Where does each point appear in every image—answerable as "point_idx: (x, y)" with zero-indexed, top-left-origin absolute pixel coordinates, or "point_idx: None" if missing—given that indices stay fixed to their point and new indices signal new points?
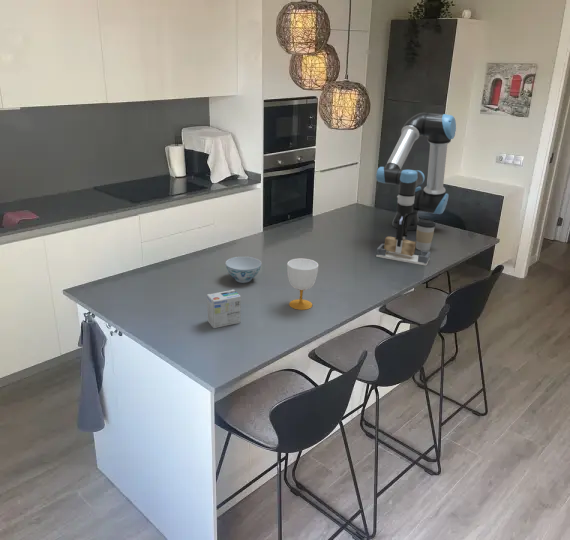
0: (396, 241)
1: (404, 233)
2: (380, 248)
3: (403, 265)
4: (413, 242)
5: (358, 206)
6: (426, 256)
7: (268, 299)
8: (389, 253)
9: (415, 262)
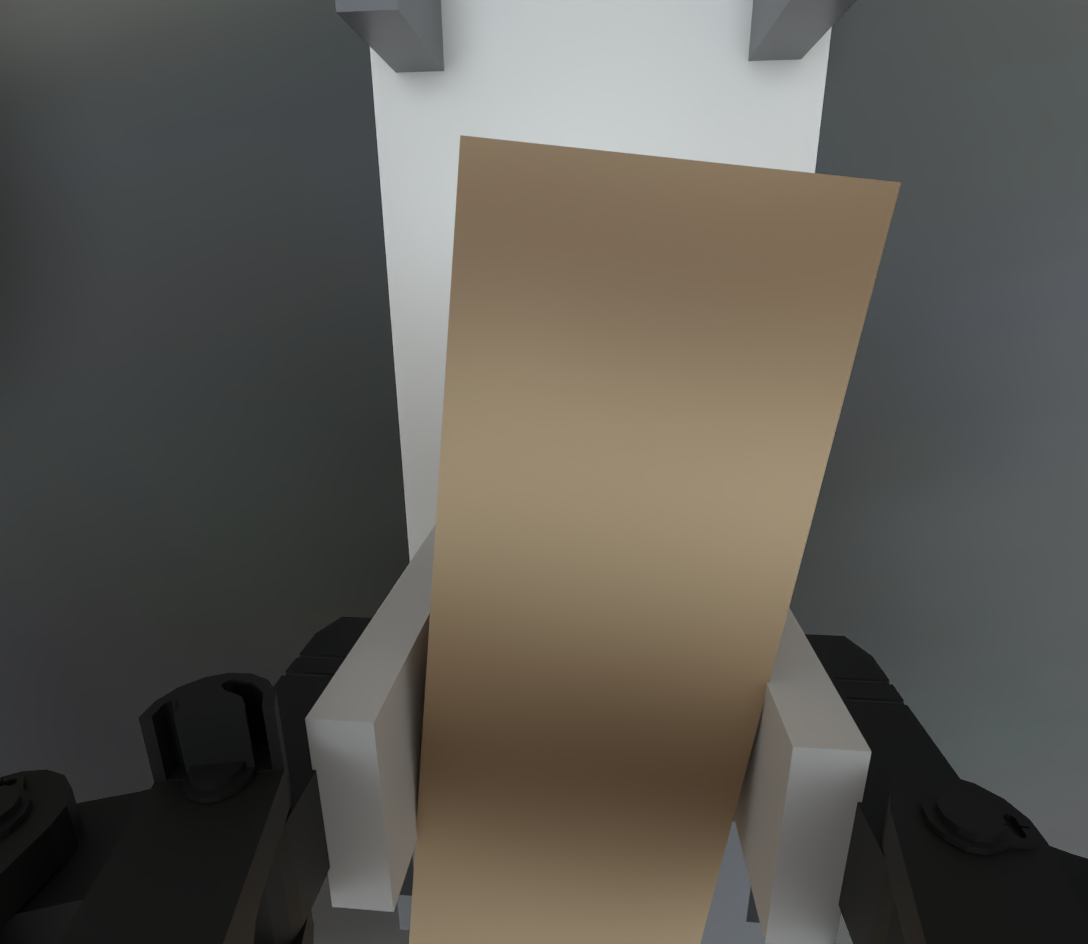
0: (712, 847)
1: (248, 914)
2: (708, 914)
3: (1004, 339)
4: (611, 245)
5: None
6: None
7: None
8: None
9: (815, 114)
